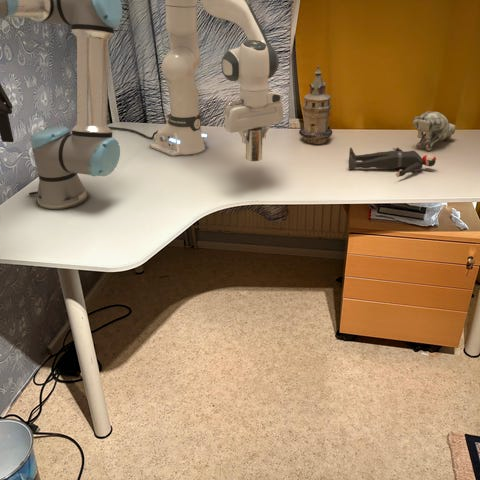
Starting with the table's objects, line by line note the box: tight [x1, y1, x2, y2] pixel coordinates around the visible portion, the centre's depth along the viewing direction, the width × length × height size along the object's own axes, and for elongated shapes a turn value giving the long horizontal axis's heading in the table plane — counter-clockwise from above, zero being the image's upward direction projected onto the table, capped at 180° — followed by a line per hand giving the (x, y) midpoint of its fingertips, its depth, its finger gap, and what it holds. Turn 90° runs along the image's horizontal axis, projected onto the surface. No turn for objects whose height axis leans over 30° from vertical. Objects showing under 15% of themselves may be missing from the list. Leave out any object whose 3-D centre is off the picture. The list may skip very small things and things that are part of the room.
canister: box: [245, 127, 263, 162], centre depth 171 cm, size 5×5×10 cm
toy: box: [348, 146, 437, 178], centre depth 192 cm, size 26×6×30 cm
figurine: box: [412, 111, 456, 152], centre depth 210 cm, size 10×19×20 cm
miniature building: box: [298, 65, 333, 145], centre depth 213 cm, size 13×14×30 cm
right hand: (254, 140), depth 171 cm, fingers closed on canister, 5 cm apart
